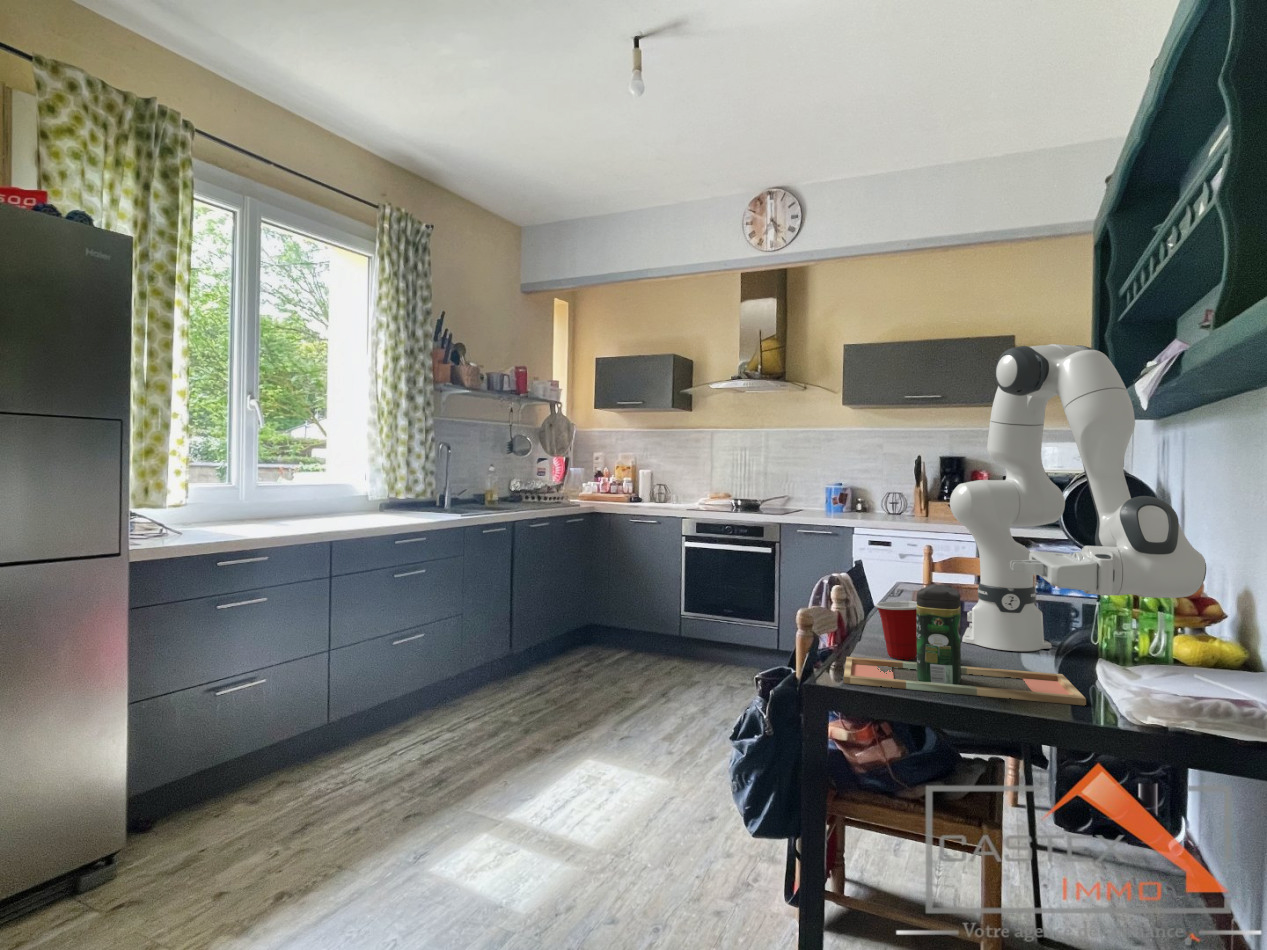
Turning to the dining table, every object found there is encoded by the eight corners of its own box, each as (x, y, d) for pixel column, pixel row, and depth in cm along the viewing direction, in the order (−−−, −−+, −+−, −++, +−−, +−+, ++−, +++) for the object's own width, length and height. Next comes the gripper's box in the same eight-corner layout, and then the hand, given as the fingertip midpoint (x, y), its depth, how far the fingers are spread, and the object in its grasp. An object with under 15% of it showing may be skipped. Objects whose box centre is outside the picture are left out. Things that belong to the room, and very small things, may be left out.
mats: (852, 665, 149) (852, 664, 149) (1057, 682, 137) (1057, 681, 137) (850, 681, 137) (850, 680, 137) (1075, 701, 125) (1075, 700, 125)
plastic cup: (886, 648, 164) (886, 596, 164) (934, 656, 157) (934, 602, 157) (867, 657, 155) (867, 602, 156) (917, 666, 148) (917, 608, 148)
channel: (846, 662, 151) (846, 656, 151) (1062, 680, 138) (1062, 674, 138) (843, 683, 136) (843, 676, 136) (1086, 705, 123) (1086, 698, 123)
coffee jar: (919, 672, 143) (919, 581, 143) (962, 678, 140) (962, 583, 140) (913, 685, 135) (913, 587, 135) (959, 691, 131) (959, 590, 131)
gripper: (1080, 546, 140) (1002, 543, 144) (1114, 560, 120) (1022, 556, 125) (1079, 577, 140) (1001, 573, 144) (1113, 597, 120) (1021, 592, 125)
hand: (1011, 566), depth 134 cm, fingers closed
